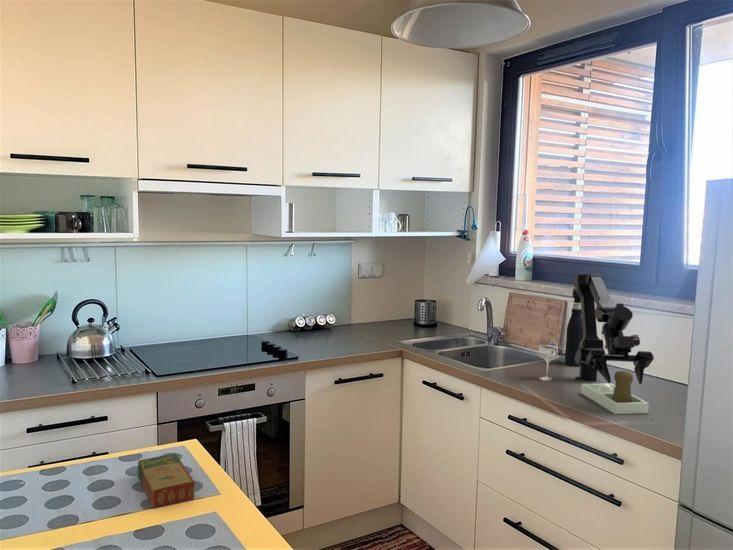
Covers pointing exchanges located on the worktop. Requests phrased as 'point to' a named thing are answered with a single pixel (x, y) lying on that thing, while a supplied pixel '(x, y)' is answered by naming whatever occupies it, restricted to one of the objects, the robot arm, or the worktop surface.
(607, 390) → the egg
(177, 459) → the carton
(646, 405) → the green divided tray
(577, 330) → the wine bottle
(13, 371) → the worktop surface
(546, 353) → the wineglass
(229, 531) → the worktop surface
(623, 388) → the cork
